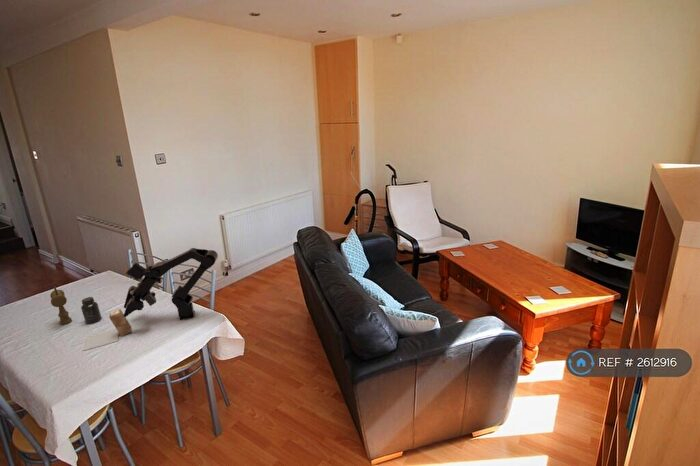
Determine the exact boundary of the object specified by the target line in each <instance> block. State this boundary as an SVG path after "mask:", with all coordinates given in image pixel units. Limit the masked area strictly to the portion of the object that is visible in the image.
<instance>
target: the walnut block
mask: <svg viewBox="0 0 700 466" xmlns="http://www.w3.org/2000/svg"><path fill="white" fill-rule="evenodd" d="M108 318H109V320H110V321H111V323H112V324H113V326H114V328H115V329H117V331H118V335H120V337H123V336H125V335H127V334H129V333H132V329H133V328H132V325H131V324H130V322H129V321H128V319H127V316H126V317H124V313H123V311H122V309H121V308H119V309H118V308H117V310H114V311H112V312H110V313H109V317H108Z"/></svg>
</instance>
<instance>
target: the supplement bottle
mask: <svg viewBox="0 0 700 466" xmlns="http://www.w3.org/2000/svg"><path fill="white" fill-rule="evenodd" d="M81 304H82V305H81V307H80V309H81V312H82V316H83V318H84V319H83V320H84V322H85V323H86V324H88V325H90V324H95V323H98V322H100V321H101V319H102V315H101V311H100V307H99V304H98V303H97V301H95V299H94V297H93V296H88V297H85V298H83V299H81Z"/></svg>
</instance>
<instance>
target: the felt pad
mask: <svg viewBox="0 0 700 466" xmlns="http://www.w3.org/2000/svg"><path fill="white" fill-rule="evenodd" d="M117 342H119V332H118V331H117V329H116V328H114V329H111V330H110V329H109V330H106V331H103V332H99V333H96V334H95V333H94V334H91V335H88V336H85V339H84V344H83V345H84V346H83V350H82V351H83V352H85V351H88V350H89V351H90V350H92V349H96V348H99V347H103V346H105V345H106V346H107V345H110V344H114V343H117Z"/></svg>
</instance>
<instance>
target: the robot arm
mask: <svg viewBox="0 0 700 466" xmlns="http://www.w3.org/2000/svg"><path fill="white" fill-rule="evenodd" d="M218 258H219V255H218V252H217V251H216V250H213V249H212V250H210V249H209V250H208V249H201V248H195V247H191V248H190V249H188V250H186V251H184V252H182V253H180V254H178V255H176V256H174V257H172V258H170V259H168V260H162V261H159V262H156V263H154V264H153V265H149V266H147V267H146V268H145V267H143V266H142V265H140V264H139V263H137V262H135V263H133V265H132V266H131V267H130V268H129V269H128V270H127V271H126V273H125V274H126V275H127V276H129V277H130V278H132V279H134V280H135V281H139V280H141V281H140V282H138V283H137V286H135V285H131V286H129V288H128V291H127V294H126V298H125V302H124V305H123V309H125V310H124V313H123V314H124V317H126V318H127V317H128V316H129V315H130V314H132V313H134V312H135V311H142V310H143V308H145V305H144V302H146V303H147V304H148V305H149V306H150V307H152V306H153V305H155V304H156V303H157V299H156V292H154V291H151V290H152V289H153V287H154V286H155V284H156V283H159V284H161V283H162V282H163V280H162V276H164V275H165V274H166V273H168V271H170V270H171V269H173V268H176V267H177V266H180V265H182V264H183V263H186V262H188V261H189V260H195V261H196V262H199V263H200V264H199V265H198V267H197V268H196V269H195V270H194V272H193V273H192V275H191V276H190V277H189V279H188V280H187V281H186V282H185V284H184V285H182V286H181V285H180V284H179V286H178V287H177V288H176V289H175V290H174V292H173V293H172V295H171V303H172V304H173V305H174V306H175V307H176V309H177V313H178V314H177V315H178V318H179V320H180V321H181V320H188V319H193V318H194V317H195V313H196V312H195V308H194V304H193V299H194V296H192V295H191V294H189V293H190V291H191V290H192V289H193V288H194V286H195V285H196V284H197V283H198V281H199V279H201V278H202V276H203V274H204V273H205V272H206V271H207V270H209V269H211V268H212V266H214V264H215V263H216V261H217V260H218Z"/></svg>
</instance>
